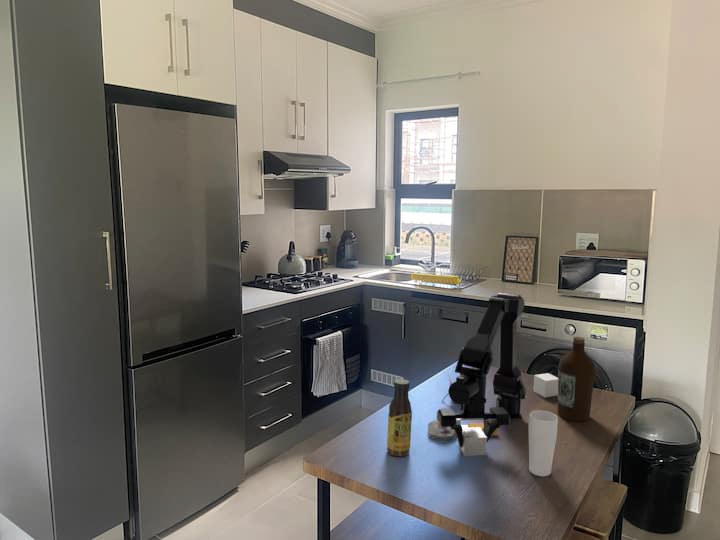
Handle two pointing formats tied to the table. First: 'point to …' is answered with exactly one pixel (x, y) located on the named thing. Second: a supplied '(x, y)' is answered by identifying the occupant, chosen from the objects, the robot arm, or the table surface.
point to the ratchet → (449, 430)
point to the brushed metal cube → (473, 442)
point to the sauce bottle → (399, 420)
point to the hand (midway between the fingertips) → (471, 446)
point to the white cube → (546, 385)
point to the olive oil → (575, 383)
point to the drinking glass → (542, 441)
